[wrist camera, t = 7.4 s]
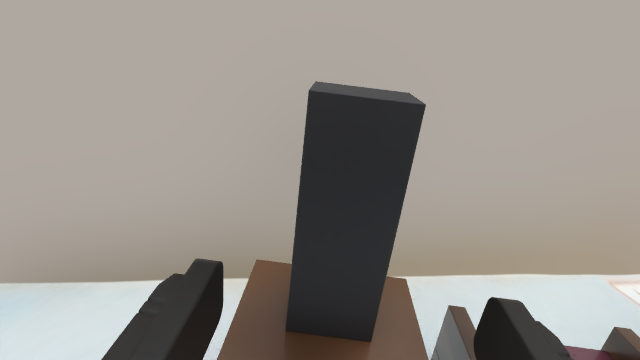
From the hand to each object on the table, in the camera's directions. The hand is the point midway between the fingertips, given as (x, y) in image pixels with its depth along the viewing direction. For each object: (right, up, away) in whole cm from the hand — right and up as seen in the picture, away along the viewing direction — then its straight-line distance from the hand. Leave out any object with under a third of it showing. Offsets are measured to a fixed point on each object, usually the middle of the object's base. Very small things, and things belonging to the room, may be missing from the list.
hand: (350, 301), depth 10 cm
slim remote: (0, -4, +8) cm, 9 cm away
